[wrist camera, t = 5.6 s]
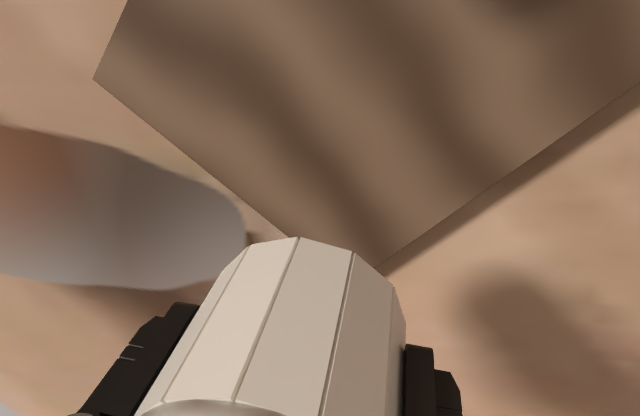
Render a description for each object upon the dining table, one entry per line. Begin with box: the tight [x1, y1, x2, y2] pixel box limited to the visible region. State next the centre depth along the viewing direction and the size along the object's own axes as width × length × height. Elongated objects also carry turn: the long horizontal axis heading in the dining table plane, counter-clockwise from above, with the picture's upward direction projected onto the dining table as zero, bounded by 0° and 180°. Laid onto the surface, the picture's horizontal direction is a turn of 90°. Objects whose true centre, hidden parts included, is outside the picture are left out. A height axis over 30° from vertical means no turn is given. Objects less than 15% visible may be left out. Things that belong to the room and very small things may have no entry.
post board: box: [93, 0, 640, 268], centre depth 15 cm, size 22×18×8 cm
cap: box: [134, 237, 406, 416], centre depth 10 cm, size 6×6×6 cm
